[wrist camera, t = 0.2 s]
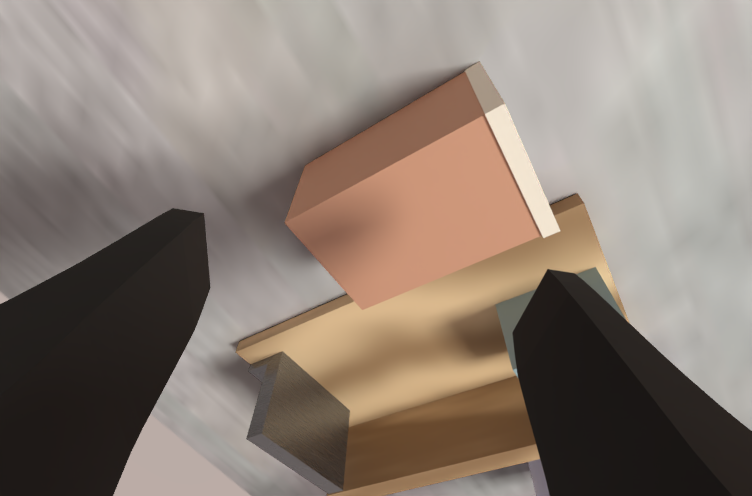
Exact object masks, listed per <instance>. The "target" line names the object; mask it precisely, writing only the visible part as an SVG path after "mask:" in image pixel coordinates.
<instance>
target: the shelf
mask: <svg viewBox="0 0 752 496" xmlns="http://www.w3.org/2000/svg"><path fill="white" fill-rule="evenodd" d="M550 208H551V210H552V213H553V215H554V217H555V219H556V222H557V224H558V226H559V229H560V232H557V233H555V234H552V235H550V236H547V237H545V238H543V237H542V236H540V237H537V238H535V239H532V240H530V241H528V242H525V243H523V244H520V245H518V246H516V247H513V248H511V249H508V250H506V251H504V252H501V253H499V254H496V255H494V256H492V257H489V258H487V259H484V260H482V261H480V262H477V263H475V264H472V265H470V266H468V267H465V268H463V269H460V270H458V271H456V272H453V273H451V274H448V275H446V276H444V277H441V278H439V279H436V280H434V281H431V282H429V283H427V284H424V285H422V286H419V287H417V288H415V289H412V290H410V291H407V292H405V293H403V294H400V295H398V296H395V297H393V298H391V299H388V300H386V301H383V302H381V303H379V304H376V305H374V306H371V307H369V308H367V309H364V310H362V309H361V308H360V307H359V306H358V305H357V304H356V303H355V302H354V300H353V299H352V298H351V297H350V296H349V295H348V294H347V295H344V296H342V297H340V298H338V299H335V300H333V301H331V302H328V303H326V304H324V305H322V306H319V307H317V308H315V309H312V310H310V311H308V312H306V313H303V314H301V315H299V316H297V317H294V318H292V319H290V320H287V321H285V322H283V323H281V324H278V325H276V326H274V327H271V328H269V329H267V330H265V331H262V332H260V333H258V334H255V335H253V336H251V337H249V338H246V339H244V340H242V341H239V344H238V347H237V349H236V353H237V354H238V355H239V356H241V357H242V358H243V359H244V360H246V361H247V362H248V363H249V364H253V363H255V362H258V361H260V360H263V359H265V358H267V357H270V356H272V355H275V354H277V353H280V352H282V351H283V352H284V353H285V354H286V355H288V356H289V357H290V358H291V359H292V360H293V361H294V362H296V363H297V364H298V365H299V366H300V367H301V368H302V369H304V370H305V371H306V372H307V373H308V374H309V375H310V376H312V377H313V378H314V379H315V380H316V381H317V382H318V383H319V384H321V385H322V386H323V387H324V388H325V389H326V390H327V391H329V392H330V393H331V394H332V395H333V396H334V397H335V398H337V399H338V400H339V401H340V402H341V403H342V404H343V405H344V406H346V407H347V408H348V409H349V410H350V417H349V428H348V440H347V451H346V463H345V474H344V485H343V491H339V492H335V493H331V494H328V493H327V496H384V495H388V494H393V493H397V492H401V491H405V490H410V489H414V488H418V487H423V486H427V485H431V484H435V483H440V482H444V481H448V480H453V479H457V478H461V477H465V476H470V475H474V474H478V473H482V472H487V471H491V470H495V469H500V468H504V467H508V466H512V465H517V464H521V463H525V462H530V461H534V460H538V459H540V456H539V453H538V449H537V445H536V442H535V438H534V435H533V431H532V427H531V424H530V420H529V416H528V413H527V409H526V405H525V402H524V398H523V394H522V390H521V387H520V383H519V379H518V377H517V376H516V374H515V373H514V371H513V369H512V366H511V362H510V358H509V354H508V350H507V347H506V343H505V339H504V335H503V332H502V328H501V324H500V320H499V316H498V313H497V309H496V305H495V304H498V303H501V302H503V301H506V300H509V299H511V298H514V297H517V296H519V295H522V294H525V293H527V292H530V291H533V290H535V289H537V287H538V285H539V284H540V282H541V280H542V278H543V276H544V275H545V273H546V271H547V269H551V270H557V271H563V272H570V273H575V274H578V273H581V272H584V271H586V270H589V269H592V268H594V267H596V268H597V270H598V272H599V274H600V275H601V277H602V279H603V281H604V282H605V284H606V286H607V287H608V289H609V291H610V293H611V294H612V296H613V298H614V300H615V301H616V303H617V305H618V306H619V308H620V310H621V312H622V313H623V315H624V317H625V319H626V320H627V322H628V323H629V321H628V318H627V315H626V313H625V310H624V307H623V305H622V302H621V299H620V297H619V294H618V292H617V289H616V286H615V284H614V281H613V278H612V276H611V273H610V270H609V268H608V265H607V263H606V260H605V257H604V255H603V252H602V249H601V247H600V244H599V241H598V239H597V236H596V234H595V231H594V228H593V226H592V223H591V220H590V218H589V215H588V212H587V210H586V207H585V205H584V202H583V201H582V199H581V198H580V196H579V195H578V193H577V194H575V195H573V196H570V197H568V198H566V199H564V200H561V201H559V202H557V203H554V204H552V205H550Z"/></svg>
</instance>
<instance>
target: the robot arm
mask: <svg viewBox="0 0 752 496" xmlns="http://www.w3.org/2000/svg"><path fill="white" fill-rule="evenodd" d="M209 290H210V278H209V267H208V255H207V243H206V232H205V220H204V213H199V212H192V211H186V210H180V209H174V208H173V209H171V210H169V211H167V212H165V213H163V214H162V215H160V216H158V217H156V218H155V219H153V220H151V221H150V222H148V223H146V224H145V225H143V226H141V227H139V228H138V229H136V230H134V231H133V232H131V233H129V234H128V235H126V236H124V237H123V238H121V239H119V240H118V241H116V242H114V243H113V244H111V245H109V246H107V247H106V248H104V249H102V250H100V251H99V252H97V253H95V254H94V255H92V256H90V257H88V258H87V259H85V260H83V261H82V262H80V263H78V264H76V265H74V266H73V267H71V268H69V269H67V270H65V271H63V272H61V273H59V274H57V275H56V276H54V277H52V278H50V279H48V280H46V281H44V282H42V283H40V284H39V285H37V286H35V287H33V288H31V289H29V290H27V291H25V292H23V293H21V294H20V295H18V296H16V297H14V298H12V299H10V300H8V301H6V302H4V303H2V304H0V496H113V494H114V492H115V489H116V487H117V484H118V482H119V479H120V477H121V475H122V472H123V470H124V468H125V465H126V463H127V460H128V458H129V456H130V453H131V451H132V449H133V447H134V445H135V443H136V441H137V439H138V437H139V434H140V432H141V430H142V428H143V427H144V425H145V423H146V421H147V419H148V417H149V415H150V413H151V412H152V410H153V408H154V406H155V404H156V402H157V400H158V398H159V397H160V395H161V393H162V391H163V389H164V387H165V385H166V383H167V382H168V380H169V378H170V376H171V374H172V372H173V370H174V368H175V367H176V365H177V363H178V361H179V359H180V357H181V355H182V353H183V351H184V350H185V348H186V346H187V344H188V342H189V340H190V338H191V336H192V334H193V332H194V330H195V328H196V325H197V322H198V320H199V317H200V315H201V312H202V309H203V307H204V304H205V301H206V298H207V296H208V293H209ZM512 334H513V343H514V353H515V360H516V367H517V374H518V379H519V383H520V387H521V390H522V394H523V398H524V402H525V405H526V409H527V413H528V416H529V420H530V424H531V427H532V431H533V435H534V438H535V442H536V445H537V449H538V453H539V456H540V459H538V460H534V461H530V462H528V464H529V468H530V472H531V476H532V480H533V484H534V489H535V493H536V496H752V431H751V430H749V429H748V428H747V427H746V426H744V425H743V424H742V423H741V422H739V421H738V420H737V419H736V418H734V417H733V416H732V415H731V414H730V413H728V412H727V411H726V410H725V409H724V408H722V407H721V406H720V405H719V404H718V403H716V402H715V401H714V400H713V399H712V398H711V397H710V396H708V395H707V394H706V393H705V392H704V391H703V390H701V389H700V388H699V387H698V386H697V385H696V384H695V383H693V382H692V381H691V380H690V379H689V378H688V377H687V376H685V375H684V374H683V373H682V372H681V371H680V370H679V369H678V368H677V367H675V366H674V365H673V364H672V363H671V362H670V361H669V360H668V359H667V358H666V357H664V356H663V355H662V354H661V353H660V352H659V351H658V350H657V349H656V348H655V347H654V346H653V345H652V344H651V343H650V342H648V341H647V340H646V339H645V338H644V337H643V336H642V335H641V334H640V333H639V332H638V331H637V330H636V329H635V328H634V327H633V326H632V325H631V324H630V323H628V322H627V321H626V320H625V319H624V318H623V317H622V316H621V315H620V314H619V313H618V312H617V311H616V310H615V309H614V308H613V307H612V306H611V305H610V304H609V303H608V302H607V301H606V300H604V299H603V298H602V297H601V296H600V295H599V294H598V293H597V292H596V291H595V290H594V289H593V288H592V287H590V286H589V285H588V284H587V283H586V282H585V281H584V280H582V279H581V278H580V277H579V276H578V275H576V274H575V273H570V272H563V271H557V270H551V269H547V271H546V273H545V275H544V276H543V278H542V280H541V282H540V284H539V285H538V287H537V289H536V291H535V293H534V294H533V296H532V298H531V300H530V302H529V303H528V305H527V307H526V309H525V311H524V312H523V314H522V316H521V318H520V320H519V321H518V323H517V325H516V327H515V329H514V330H513V332H512Z"/></svg>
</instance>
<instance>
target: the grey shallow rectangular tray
mask: <svg viewBox="0 0 752 496" xmlns="http://www.w3.org/2000/svg"><path fill="white" fill-rule="evenodd" d="M248 372H250V373H251V374H252V375H253V376H255V377H256V378H257V379H258V380H260V381H261V382H262V385H261V389H260V392H259V396H258V399H257V403H256V406H255V410H254V414H253V417H252V421H251V424H250V428H249V431H248V435H247V438H246V439H247V440H249V441H250V442H252V443H253V444H255V445H256V446H258V447H259V448H261V449H262V450H264V451H265V452H267V453H268V454H270V455H271V456H273V457H274V458H276V459H277V460H279V461H280V462H282V463H283V464H285V465H286V466H288V467H289V468H291V469H292V470H294V471H295V472H297V473H298V474H300V475H301V476H303V477H304V478H306V479H307V480H309V481H310V482H312V483H313V484H315V485H316V486H318V487H319V488H320V489H322V490H323V491H325V492H326V493H328V494H331V493H335V492H339V491H343V485H344V474H345V463H346V451H347V440H348V428H349V417H350V410H349V409H348V408H347V407H346V406H344V405H343V404H342V403H341V402H340V401H339V400H338V399H337V398H335V397H334V396H333V395H332V394H331V393H330V392H329V391H327V390H326V389H325V388H324V387H323V386H322V385H321V384H319V383H318V382H317V381H316V380H315V379H314V378H313V377H312V376H310V375H309V374H308V373H307V372H306V371H305V370H304V369H302V368H301V367H300V366H299V365H298V364H297V363H296V362H294V361H293V360H292V359H291V358H290V357H289V356H288V355H286V354H285V353H284V352H283V351H282V352H280V353H277V354H275V355H272V356H270V357H267V358H265V359H263V360H260V361H258V362H255V363H253V364H250V367H249V371H248Z"/></svg>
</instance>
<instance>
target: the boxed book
mask: <svg viewBox="0 0 752 496" xmlns="http://www.w3.org/2000/svg"><path fill="white" fill-rule="evenodd" d="M285 224H286V225H287V226H288V227H289V228H290V230H291V231H292V232H293V233H294V234H295V235H296V236H297V237H298V239H299V240H300V241H301V242H302V243H303V244H304V245H305V246H306V248H307V249H308V250H309V251H310V252H311V253H312V254H313V255H314V257H315V258H316V259H317V260H318V261H319V262H320V263H321V264H322V266H323V267H324V268H325V269H326V270H327V271H328V272H329V273H330V275H331V276H332V277H333V278H334V279H335V280H336V281H337V282H338V284H339V285H340V286H341V287H342V288H343V289H344V290H345V291H346V293H347V294H348V295H349V296H350V297H351V298H352V299H353V300H354V302H355V303H356V304H357V305H358V306H359V307H360V308H361V309H362V310H364V309H367V308H369V307H371V306H374V305H376V304H379V303H381V302H383V301H386V300H388V299H391V298H393V297H395V296H398V295H400V294H403V293H405V292H407V291H410V290H412V289H415V288H417V287H419V286H422V285H424V284H427V283H429V282H431V281H434V280H436V279H439V278H441V277H444V276H446V275H448V274H451V273H453V272H456V271H458V270H460V269H463V268H465V267H468V266H470V265H472V264H475V263H477V262H480V261H482V260H484V259H487V258H489V257H492V256H494V255H496V254H499V253H501V252H504V251H506V250H508V249H511V248H513V247H516V246H518V245H520V244H523V243H525V242H528V241H530V240H532V239H535V238H537V237H540V236H542V237H543V238H545V237H547V236H550V235H552V234H555V233H557V232H560V229H559V226H558V224H557V222H556V219H555V217H554V215H553V213H552V210H551V208H550V206H549V203H548V201H547V199H546V196H545V194H544V192H543V190H542V187H541V185H540V183H539V180H538V178H537V176H536V174H535V171H534V169H533V167H532V164H531V162H530V160H529V157H528V155H527V153H526V151H525V148H524V146H523V144H522V141H521V139H520V137H519V135H518V132H517V130H516V128H515V125H514V123H513V121H512V119H511V116H510V114H509V112H508V109H507V107H506V105H505V103H504V101H503V99H502V98H501V96H500V94H499V93H498V91H497V89H496V88H495V86H494V84H493V83H492V81H491V79H490V78H489V76H488V74H487V73H486V71H485V69H484V68H483V66H482V64H481V63H480V61H479V62H478V63H476V64H474V65H473V66H471V67H469V68H467V69H466V70H465V72H463V73H462V74H460V75H458V76H456V77H455V78H453V79H451V80H450V81H448V82H446V83H445V84H443V85H441V86H439V87H438V88H436V89H434V90H433V91H431V92H429V93H428V94H426V95H424V96H422V97H421V98H419V99H417V100H416V101H414V102H412V103H411V104H409V105H407V106H405V107H404V108H402V109H400V110H399V111H397V112H395V113H394V114H392V115H390V116H388V117H387V118H385V119H383V120H382V121H380V122H378V123H377V124H375V125H373V126H371V127H370V128H368V129H366V130H365V131H363V132H361V133H359V134H358V135H356V136H354V137H353V138H351V139H349V140H348V141H346V142H344V143H342V144H341V145H339V146H337V147H336V148H334V149H332V150H331V151H329V152H327V153H325V154H324V155H322V156H320V157H319V158H317V159H315V160H314V161H312V162H310V163H308V164H307V165H305V167H304V170H303V173H302V175H301V178H300V181H299V184H298V187H297V189H296V192H295V195H294V198H293V200H292V203H291V206H290V209H289V212H288V214H287V217H286V220H285Z"/></svg>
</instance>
